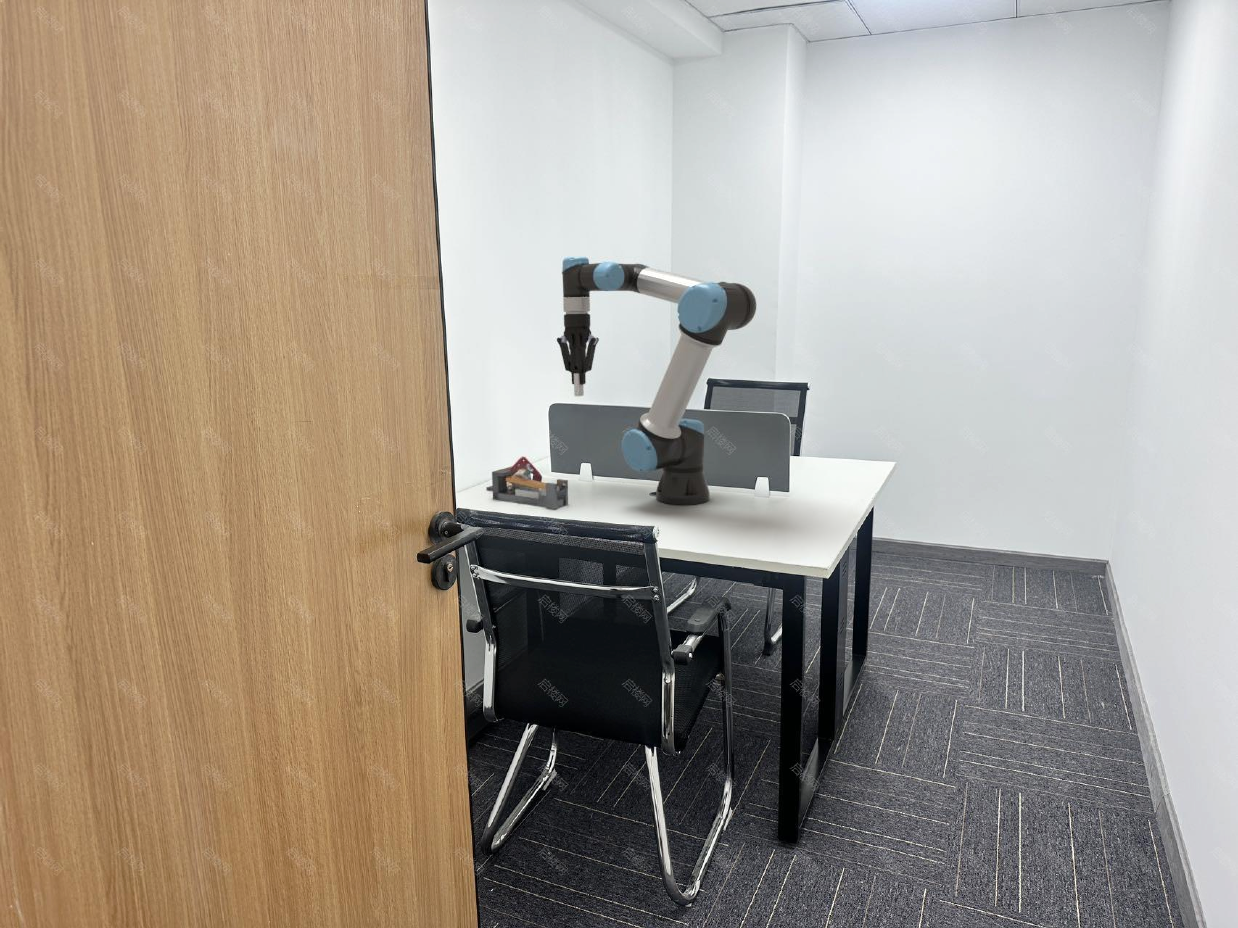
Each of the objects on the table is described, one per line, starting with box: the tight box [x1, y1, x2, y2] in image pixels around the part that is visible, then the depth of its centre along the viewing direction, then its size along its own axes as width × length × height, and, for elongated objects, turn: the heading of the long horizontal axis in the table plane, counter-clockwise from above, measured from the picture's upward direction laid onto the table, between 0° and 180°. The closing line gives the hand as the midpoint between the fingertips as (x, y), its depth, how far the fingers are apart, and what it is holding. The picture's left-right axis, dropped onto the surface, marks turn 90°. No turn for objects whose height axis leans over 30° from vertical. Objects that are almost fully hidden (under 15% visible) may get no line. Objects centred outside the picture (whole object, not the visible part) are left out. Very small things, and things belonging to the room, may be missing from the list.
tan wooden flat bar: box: [506, 476, 562, 491], centre depth 235 cm, size 17×3×1 cm, turn 59°
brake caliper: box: [507, 456, 543, 491], centre depth 246 cm, size 11×11×12 cm
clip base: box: [491, 468, 569, 510], centre depth 236 cm, size 22×6×8 cm, turn 59°
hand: (579, 395), depth 244 cm, fingers closed
